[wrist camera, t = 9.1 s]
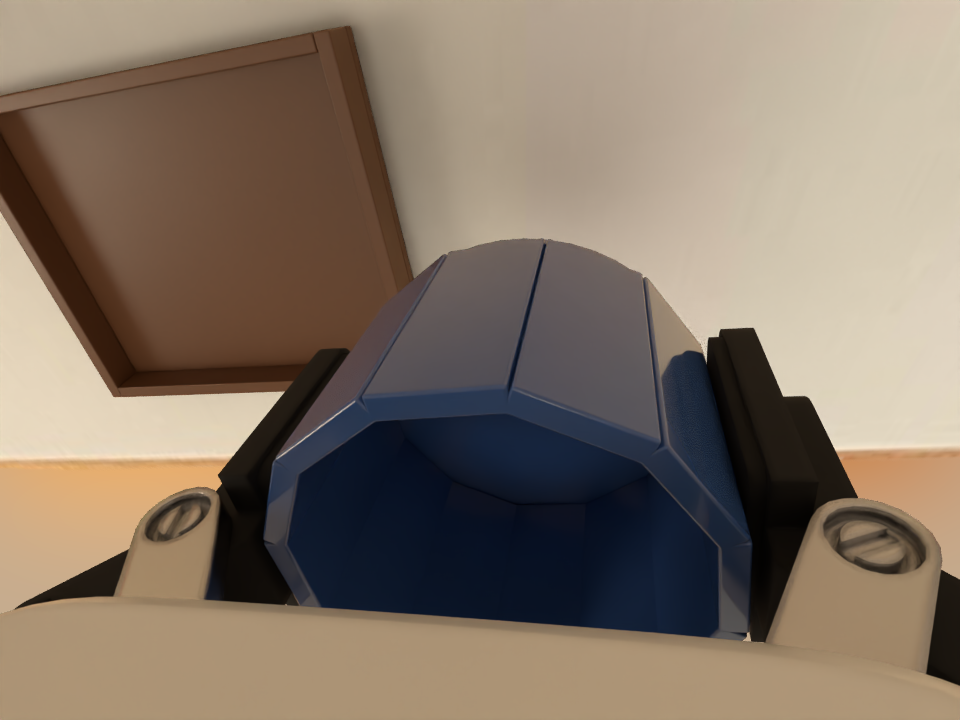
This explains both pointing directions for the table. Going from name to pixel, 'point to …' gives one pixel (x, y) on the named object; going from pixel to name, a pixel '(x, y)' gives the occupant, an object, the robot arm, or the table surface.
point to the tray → (207, 213)
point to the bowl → (519, 457)
